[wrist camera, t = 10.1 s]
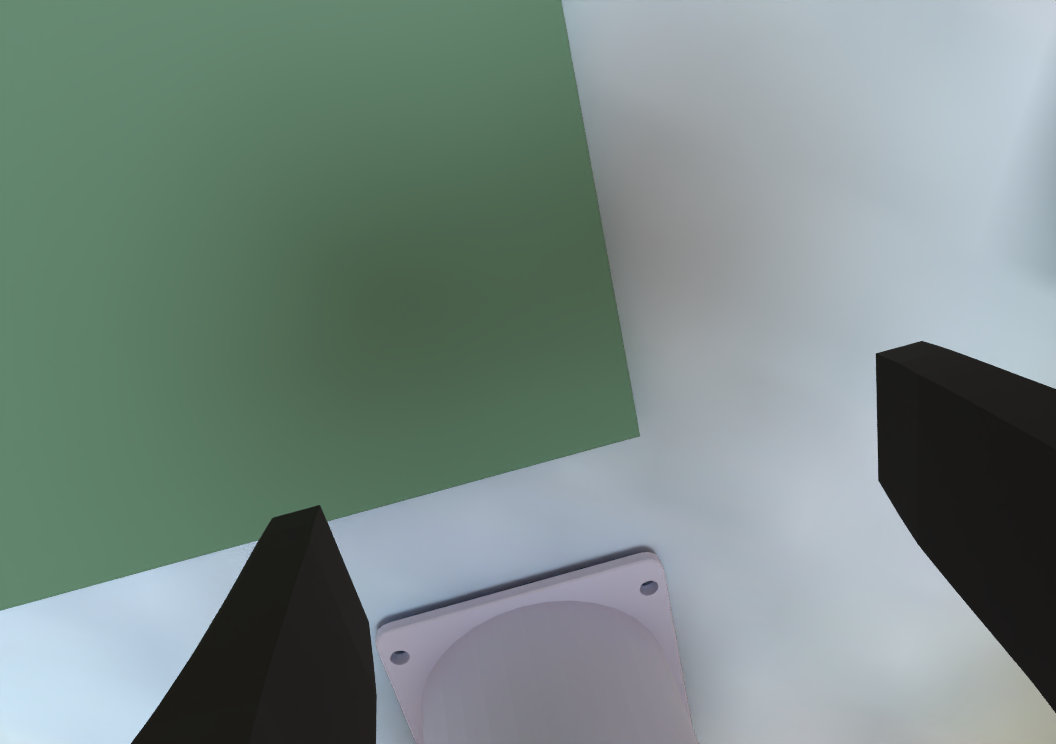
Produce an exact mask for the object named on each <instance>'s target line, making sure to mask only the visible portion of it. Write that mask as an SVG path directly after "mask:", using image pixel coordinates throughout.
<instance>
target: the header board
mask: <svg viewBox="0 0 1056 744" xmlns="http://www.w3.org/2000/svg"><path fill="white" fill-rule="evenodd" d="M638 436H640V433H639V428H638V422H637V417H636V411H635V406H634V400H633V395H632V389H631V384H630V378H629V373H628V367H627V362H626V356H625V351H624V345H623V340H622V334H621V329H620V323H619V317H618V312H617V306H616V301H615V295H614V290H613V284H612V279H611V273H610V268H609V262H608V257H607V251H606V246H605V240H604V235H603V229H602V224H601V218H600V213H599V207H598V201H597V196H596V190H595V185H594V179H593V174H592V168H591V163H590V157H589V152H588V146H587V141H586V135H585V130H584V124H583V119H582V113H581V108H580V102H579V97H578V91H577V85H576V80H575V74H574V69H573V63H572V58H571V52H570V47H569V41H568V36H567V30H566V25H565V19H564V14H563V8H562V3H561V0H0V611H1V610H4V609H8V608H12V607H15V606H19V605H23V604H26V603H30V602H34V601H37V600H41V599H45V598H48V597H52V596H56V595H59V594H63V593H67V592H70V591H74V590H78V589H81V588H85V587H89V586H92V585H96V584H100V583H103V582H107V581H111V580H114V579H118V578H122V577H125V576H129V575H133V574H136V573H140V572H144V571H147V570H151V569H155V568H158V567H162V566H166V565H169V564H173V563H177V562H180V561H184V560H188V559H191V558H195V557H199V556H202V555H206V554H210V553H213V552H217V551H220V550H224V549H228V548H231V547H235V546H239V545H242V544H246V543H250V542H253V541H257V540H259V539H260V537H261V536H262V534H263V532H264V531H265V529H266V527H267V526H268V524H269V522H270V521H271V519H272V518H273V517H277V516H281V515H284V514H288V513H292V512H295V511H299V510H303V509H306V508H310V507H314V506H317V505H320V506H321V508H322V510H323V513H324V515H325V518H326V520H327V521H330V520H334V519H338V518H341V517H345V516H349V515H352V514H356V513H360V512H363V511H367V510H371V509H374V508H378V507H382V506H385V505H389V504H393V503H396V502H400V501H404V500H407V499H411V498H415V497H418V496H422V495H426V494H429V493H433V492H437V491H440V490H444V489H448V488H451V487H455V486H459V485H462V484H466V483H470V482H473V481H477V480H481V479H484V478H488V477H492V476H495V475H499V474H503V473H506V472H510V471H514V470H517V469H521V468H525V467H528V466H532V465H536V464H539V463H543V462H547V461H550V460H554V459H558V458H561V457H565V456H569V455H572V454H576V453H580V452H583V451H587V450H591V449H594V448H598V447H602V446H605V445H609V444H613V443H616V442H620V441H624V440H627V439H631V438H635V437H638Z"/></svg>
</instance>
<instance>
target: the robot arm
mask: <svg viewBox="0 0 1056 744" xmlns="http://www.w3.org/2000/svg"><path fill="white" fill-rule="evenodd" d="M876 384H877V433H878V481H879V482H880V484H881V486H882V487H883V489H884V491H885V492H886V494H887V496H888V497H889V499H890V501H891V502H892V504H893V506H894V507H895V509H896V511H897V512H898V514H899V516H900V517H901V519H902V520H903V522H904V524H905V525H906V527H907V528H908V530H909V531H910V533H911V534H912V536H913V537H914V539H915V541H916V542H917V544H918V545H919V546H920V547H921V549H922V550H923V551H924V552H925V554H926V555H927V556H928V557H929V559H930V560H931V561H932V562H933V564H934V565H935V566H936V567H937V568H938V570H939V571H940V572H941V573H942V575H943V576H944V577H945V578H946V579H947V581H948V582H949V583H950V584H951V586H952V587H953V588H954V589H955V590H956V592H957V593H958V594H959V595H960V596H961V598H962V599H963V600H964V601H965V602H966V604H967V605H968V606H969V607H970V608H971V610H972V611H973V612H974V613H975V614H976V615H977V617H978V618H979V619H980V620H981V621H982V623H983V624H984V625H985V626H986V627H987V629H988V630H989V631H990V632H991V633H992V635H993V636H994V637H995V638H996V639H997V641H998V642H999V643H1000V644H1001V645H1002V647H1003V648H1004V649H1005V650H1006V651H1007V652H1008V654H1009V655H1010V656H1011V657H1012V658H1013V660H1014V661H1015V662H1016V663H1017V664H1018V666H1019V667H1020V668H1021V669H1022V670H1023V672H1024V673H1025V674H1026V675H1027V676H1028V678H1029V679H1030V680H1031V681H1032V683H1033V684H1034V685H1035V686H1036V688H1037V689H1038V690H1039V692H1040V693H1041V694H1042V696H1043V697H1044V698H1045V699H1046V701H1047V702H1048V703H1049V705H1050V706H1051V707H1052V709H1053V710H1054V711H1055V713H1056V389H1054V388H1051V387H1049V386H1046V385H1043V384H1041V383H1038V382H1035V381H1033V380H1030V379H1027V378H1024V377H1022V376H1019V375H1016V374H1014V373H1011V372H1009V371H1006V370H1003V369H1001V368H998V367H995V366H993V365H990V364H987V363H985V362H982V361H979V360H977V359H974V358H971V357H968V356H966V355H963V354H960V353H957V352H955V351H952V350H949V349H946V348H943V347H940V346H937V345H934V344H930V343H927V342H923V341H920V342H917V343H913V344H909V345H906V346H902V347H898V348H895V349H891V350H887V351H883V352H880V353H876ZM647 581H652V583H650V584H648V585H646V586H641V585H642V584H643V583H645V582H647ZM376 648H377V651H378V653H379V656H380V658H381V661H382V663H383V665H384V668H385V670H386V672H387V675H388V677H389V680H390V682H391V684H392V687H393V689H394V692H395V694H396V696H397V699H398V701H399V704H400V706H401V708H402V711H403V713H404V716H405V718H406V720H407V723H408V725H409V728H410V730H411V732H412V735H413V737H414V740H415V742H416V744H699V742H698V739H697V737H696V734H695V732H694V729H693V727H692V722H691V717H690V711H689V706H688V700H687V695H686V689H685V684H684V678H683V673H682V667H681V662H680V656H679V651H678V645H677V640H676V634H675V628H674V623H673V617H672V612H671V606H670V601H669V595H668V590H667V584H666V579H665V573H664V568H663V566H662V564H661V561H660V559H659V557H658V556H657V555H655V554H654V553H650V552H642V553H638V554H634V555H630V556H627V557H623V558H620V559H616V560H612V561H609V562H605V563H602V564H598V565H594V566H591V567H587V568H584V569H580V570H576V571H573V572H569V573H566V574H562V575H558V576H555V577H551V578H548V579H544V580H540V581H537V582H533V583H530V584H526V585H522V586H519V587H515V588H512V589H508V590H504V591H501V592H497V593H494V594H490V595H486V596H483V597H479V598H476V599H472V600H468V601H465V602H461V603H458V604H454V605H450V606H447V607H443V608H440V609H436V610H432V611H429V612H425V613H422V614H418V615H414V616H411V617H407V618H404V619H400V620H396V621H393V622H389V623H387V624H385V625H382V626H381V627H380V628H379V629H378V631H377V633H376ZM396 651H405V652H404V653H402V654H395V653H394V652H396ZM376 701H377V695H376V684H375V674H374V663H373V654H372V646H371V637H370V628H369V621H368V619H367V616H366V614H365V612H364V609H363V607H362V604H361V602H360V600H359V597H358V595H357V592H356V590H355V588H354V585H353V583H352V580H351V578H350V575H349V573H348V571H347V568H346V566H345V563H344V561H343V559H342V556H341V554H340V551H339V549H338V547H337V544H336V542H335V539H334V537H333V535H332V532H331V530H330V527H329V525H328V523H327V520H326V518H325V515H324V513H323V510H322V508H321V506H320V505H317V506H314V507H310V508H306V509H303V510H299V511H295V512H292V513H288V514H284V515H281V516H277V517H273V518H272V519H271V521H270V522H269V524H268V526H267V527H266V529H265V531H264V532H263V534H262V536H261V537H260V539H259V541H258V542H257V544H256V546H255V548H254V550H253V551H252V553H251V555H250V557H249V559H248V560H247V562H246V564H245V566H244V567H243V569H242V571H241V573H240V575H239V576H238V578H237V580H236V582H235V583H234V585H233V587H232V589H231V590H230V592H229V594H228V596H227V598H226V599H225V601H224V603H223V604H222V606H221V608H220V609H219V611H218V613H217V614H216V616H215V618H214V619H213V621H212V623H211V625H210V626H209V628H208V630H207V631H206V633H205V635H204V636H203V638H202V640H201V641H200V643H199V645H198V646H197V648H196V649H195V651H194V653H193V654H192V656H191V657H190V659H189V661H188V662H187V664H186V665H185V667H184V668H183V670H182V671H181V673H180V674H179V676H178V677H177V679H176V680H175V682H174V683H173V685H172V686H171V688H170V689H169V691H168V692H167V694H166V695H165V697H164V698H163V700H162V701H161V703H160V704H159V706H158V707H157V709H156V710H155V712H154V713H153V714H152V716H151V717H150V718H149V720H148V721H147V723H146V724H145V725H144V727H143V728H142V729H141V731H140V732H139V733H138V735H137V736H136V737H135V739H134V740H133V741H132V743H131V744H376Z"/></svg>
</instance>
